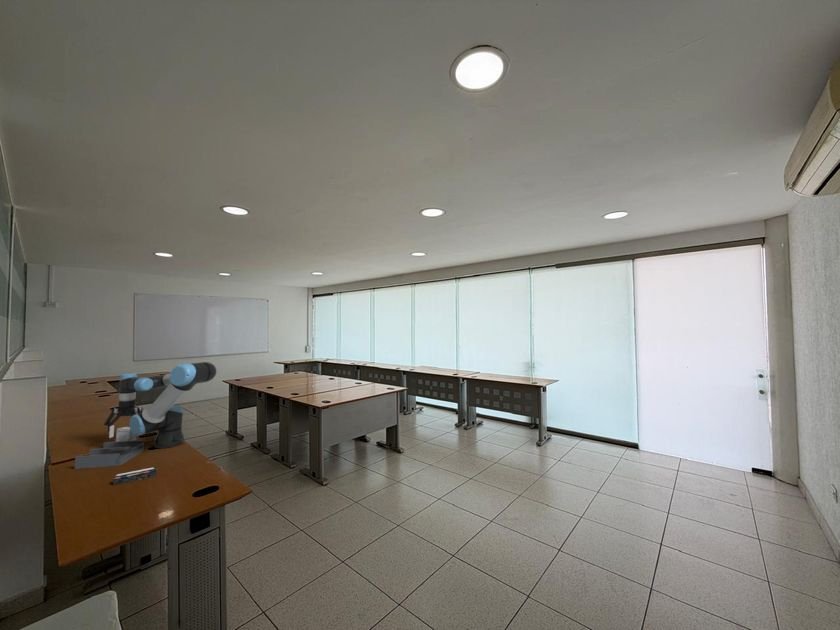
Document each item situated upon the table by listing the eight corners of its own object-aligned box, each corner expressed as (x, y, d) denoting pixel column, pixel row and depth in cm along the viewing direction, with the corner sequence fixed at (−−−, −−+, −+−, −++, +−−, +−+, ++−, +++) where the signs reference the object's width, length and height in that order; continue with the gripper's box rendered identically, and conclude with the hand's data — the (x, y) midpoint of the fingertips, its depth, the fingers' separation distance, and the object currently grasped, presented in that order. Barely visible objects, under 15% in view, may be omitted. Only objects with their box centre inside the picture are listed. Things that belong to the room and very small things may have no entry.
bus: (163, 479, 156) (164, 470, 156) (89, 495, 140) (90, 485, 140) (162, 469, 167) (162, 460, 167) (93, 483, 151) (94, 473, 151)
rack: (144, 450, 191) (144, 439, 191) (120, 465, 169) (121, 453, 170) (104, 453, 186) (104, 442, 186) (74, 469, 164) (75, 456, 165)
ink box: (114, 449, 192) (115, 428, 193) (123, 446, 197) (124, 426, 198) (128, 449, 192) (129, 429, 192) (136, 446, 197) (137, 426, 197)
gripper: (155, 397, 203) (153, 432, 202) (105, 399, 196) (103, 436, 195) (148, 400, 196) (147, 436, 194) (97, 402, 189) (95, 439, 188)
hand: (125, 436), depth 195 cm, fingers open, 13 cm apart
